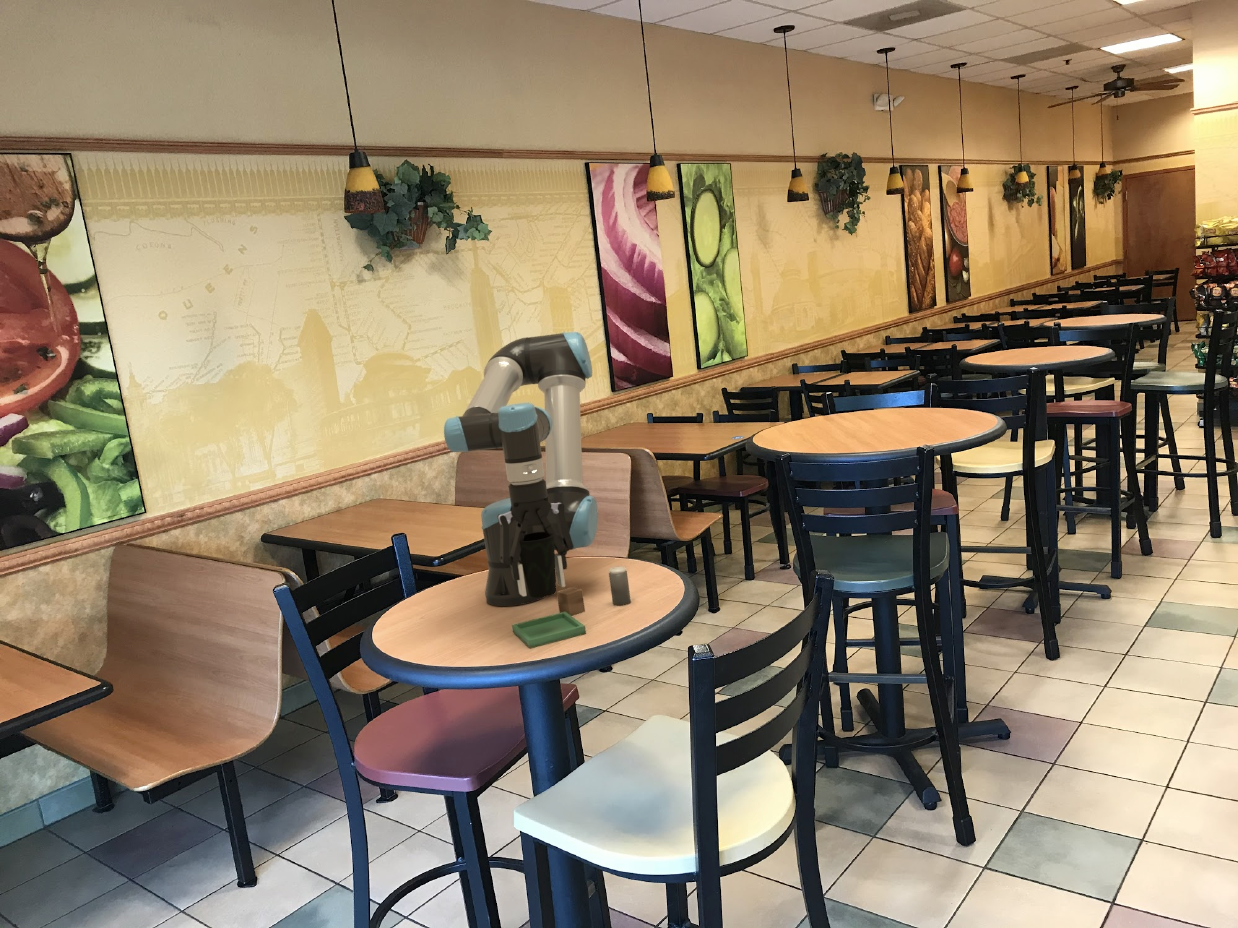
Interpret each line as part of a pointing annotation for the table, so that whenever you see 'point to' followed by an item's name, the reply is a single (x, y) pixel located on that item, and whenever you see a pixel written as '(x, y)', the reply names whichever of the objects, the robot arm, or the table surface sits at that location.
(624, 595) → the pepper shaker
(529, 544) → the cup
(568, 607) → the walnut block
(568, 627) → the tray
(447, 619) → the table surface
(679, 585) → the table surface
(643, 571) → the table surface
